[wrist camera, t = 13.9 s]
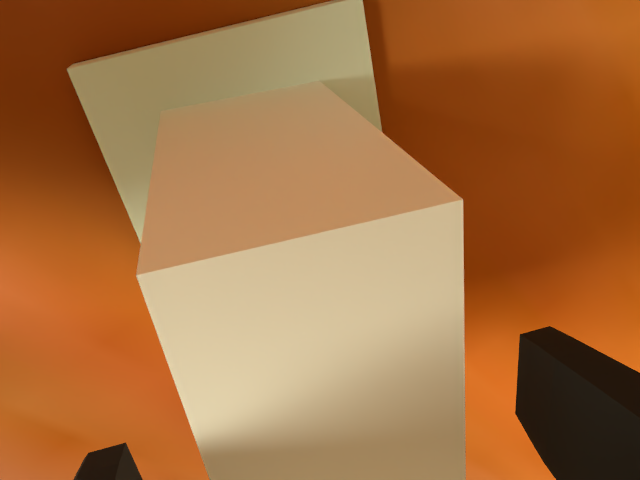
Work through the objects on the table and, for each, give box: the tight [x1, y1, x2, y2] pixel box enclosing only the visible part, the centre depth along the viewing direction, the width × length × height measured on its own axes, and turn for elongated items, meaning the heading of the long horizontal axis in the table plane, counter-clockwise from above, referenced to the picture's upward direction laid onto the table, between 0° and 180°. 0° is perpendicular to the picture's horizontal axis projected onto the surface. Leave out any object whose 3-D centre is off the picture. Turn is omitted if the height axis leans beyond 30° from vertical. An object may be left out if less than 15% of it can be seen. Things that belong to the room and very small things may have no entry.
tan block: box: [136, 81, 466, 480], centre depth 13 cm, size 4×8×9 cm, turn 8°
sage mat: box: [67, 0, 382, 243], centre depth 17 cm, size 8×12×1 cm, turn 12°
